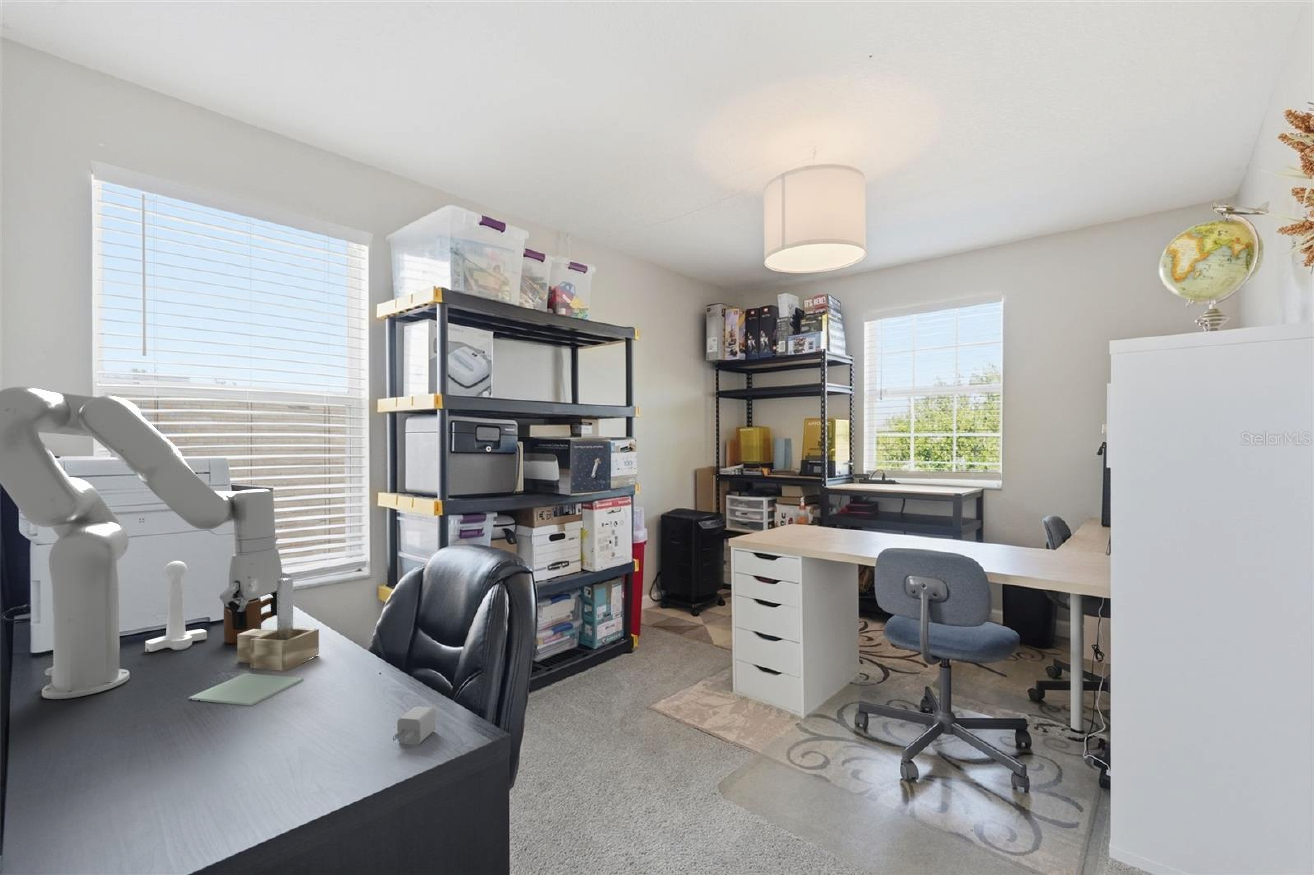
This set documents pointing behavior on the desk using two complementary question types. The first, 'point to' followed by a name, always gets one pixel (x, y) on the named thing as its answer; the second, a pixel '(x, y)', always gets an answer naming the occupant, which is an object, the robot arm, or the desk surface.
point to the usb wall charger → (415, 725)
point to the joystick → (175, 614)
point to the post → (284, 608)
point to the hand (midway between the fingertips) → (259, 622)
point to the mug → (252, 619)
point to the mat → (246, 689)
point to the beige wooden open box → (277, 648)
